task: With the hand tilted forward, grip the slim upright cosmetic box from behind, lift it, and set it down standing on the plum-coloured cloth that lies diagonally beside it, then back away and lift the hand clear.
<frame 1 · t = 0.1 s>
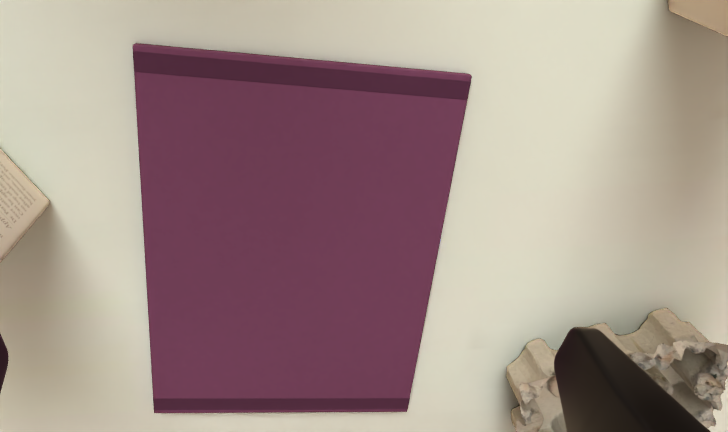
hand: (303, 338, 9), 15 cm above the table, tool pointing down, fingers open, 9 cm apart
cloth: (295, 258, 26), on the table
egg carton: (594, 367, 32), on the table
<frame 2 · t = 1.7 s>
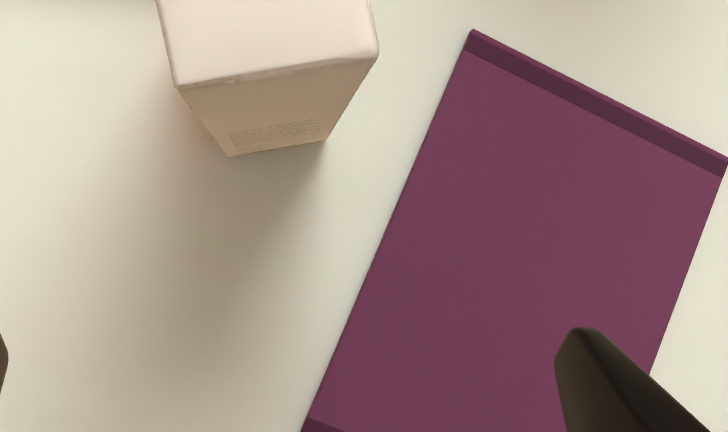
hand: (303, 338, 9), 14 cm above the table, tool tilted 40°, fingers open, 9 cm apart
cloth: (524, 289, 24), on the table
cosmetic box: (262, 79, 23), on the table
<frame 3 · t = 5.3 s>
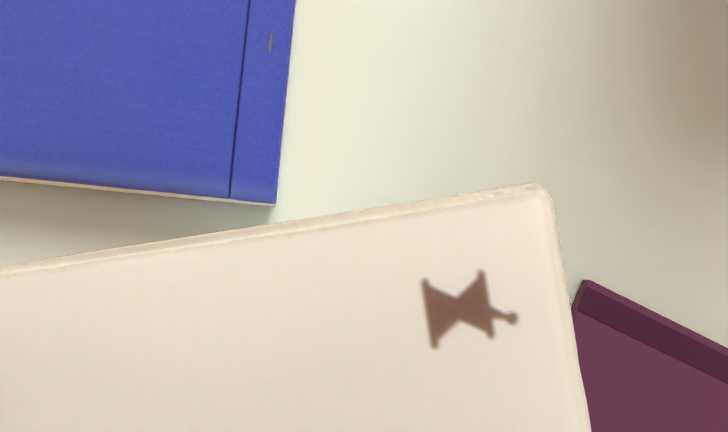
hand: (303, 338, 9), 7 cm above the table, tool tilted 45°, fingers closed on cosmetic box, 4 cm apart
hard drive: (58, 35, 15), on the table
cosmetic box: (290, 356, 16), on the table, touching gripper
when the fingers open (7 cm above the table, at t = 11.4 s): cosmetic box stays where it is, resting on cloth.
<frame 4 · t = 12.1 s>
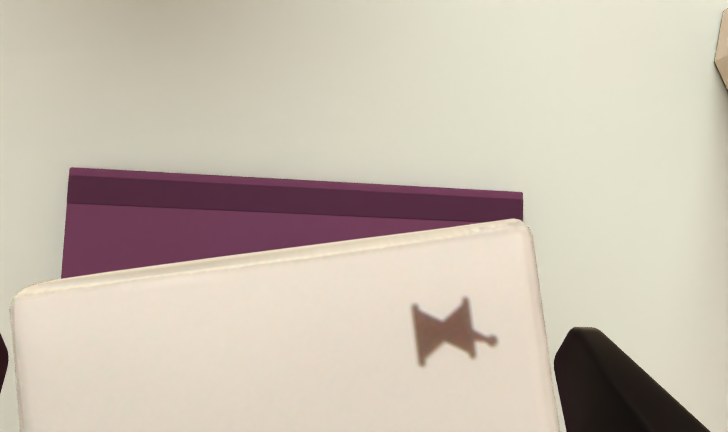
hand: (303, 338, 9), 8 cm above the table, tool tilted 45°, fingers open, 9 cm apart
cosmetic box: (289, 359, 16), resting on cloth
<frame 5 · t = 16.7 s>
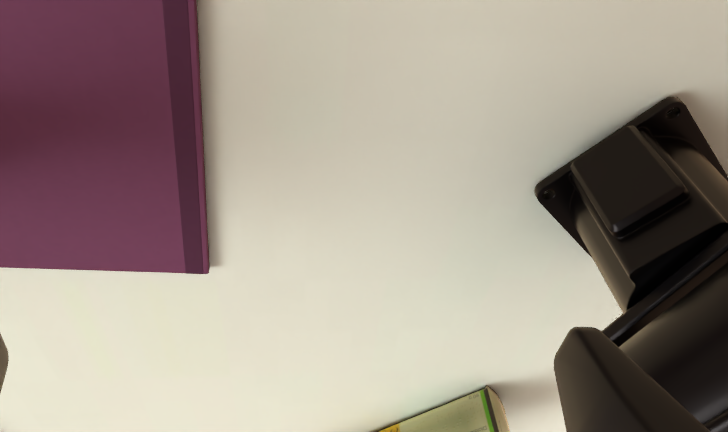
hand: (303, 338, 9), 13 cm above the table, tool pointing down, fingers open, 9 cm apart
medication box: (408, 421, 37), on the table
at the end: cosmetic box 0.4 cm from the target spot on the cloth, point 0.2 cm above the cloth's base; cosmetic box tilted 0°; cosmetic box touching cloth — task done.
